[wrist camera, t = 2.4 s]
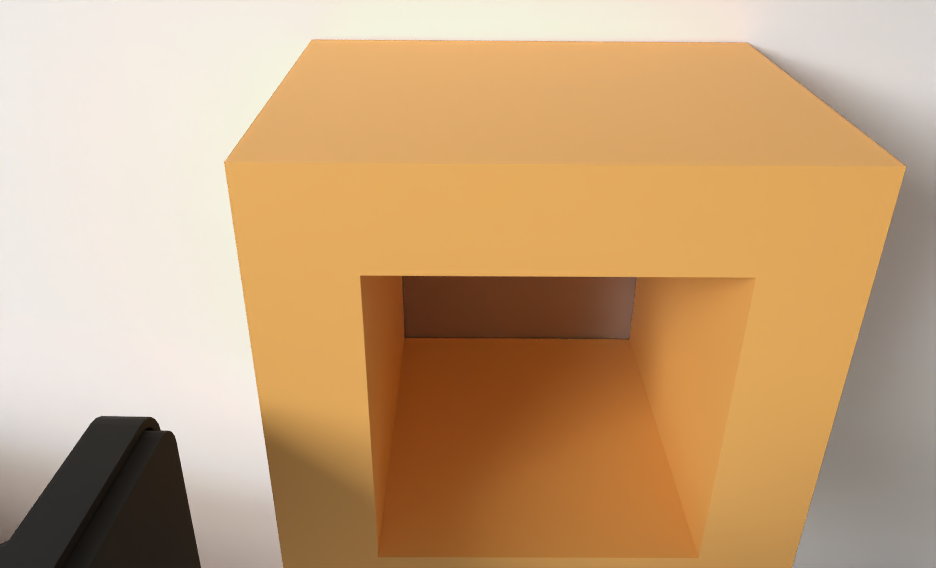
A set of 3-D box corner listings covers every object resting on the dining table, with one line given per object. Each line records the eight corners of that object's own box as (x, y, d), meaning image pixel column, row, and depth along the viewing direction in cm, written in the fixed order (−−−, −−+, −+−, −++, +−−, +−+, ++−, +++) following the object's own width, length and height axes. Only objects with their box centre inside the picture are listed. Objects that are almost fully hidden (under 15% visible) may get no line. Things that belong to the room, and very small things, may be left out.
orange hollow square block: (311, 39, 12) (224, 162, 8) (747, 42, 12) (906, 165, 8) (341, 392, 15) (291, 621, 11) (687, 394, 15) (776, 623, 11)
